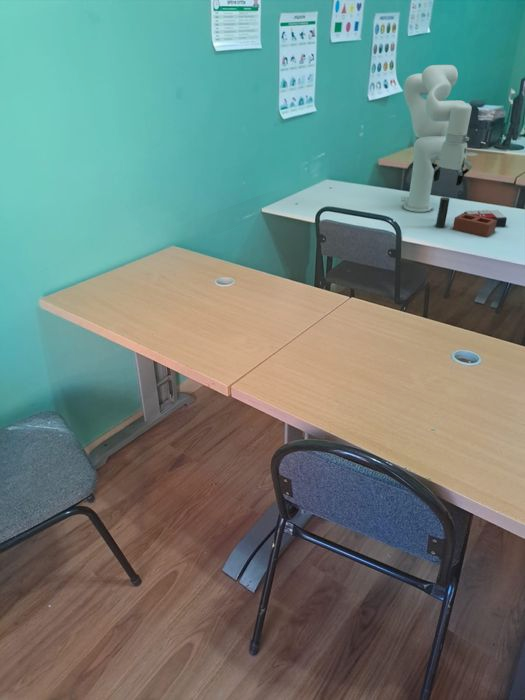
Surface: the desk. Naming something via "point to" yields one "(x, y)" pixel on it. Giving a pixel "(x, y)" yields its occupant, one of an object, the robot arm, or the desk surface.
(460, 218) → the hollow brick
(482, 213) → the calculator
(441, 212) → the peg
